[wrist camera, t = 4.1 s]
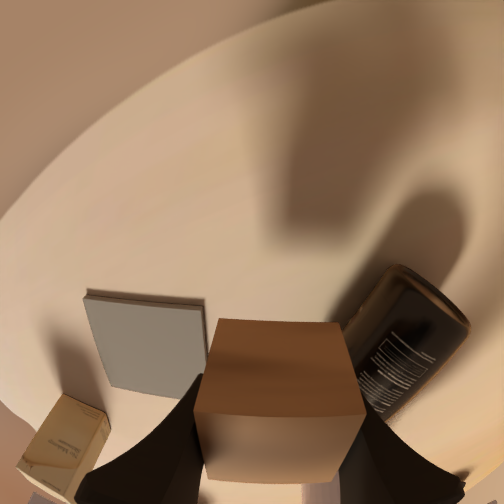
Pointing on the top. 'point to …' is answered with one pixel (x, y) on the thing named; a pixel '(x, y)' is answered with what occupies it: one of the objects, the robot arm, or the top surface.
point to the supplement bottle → (402, 339)
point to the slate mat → (148, 344)
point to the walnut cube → (277, 402)
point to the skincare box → (65, 448)
